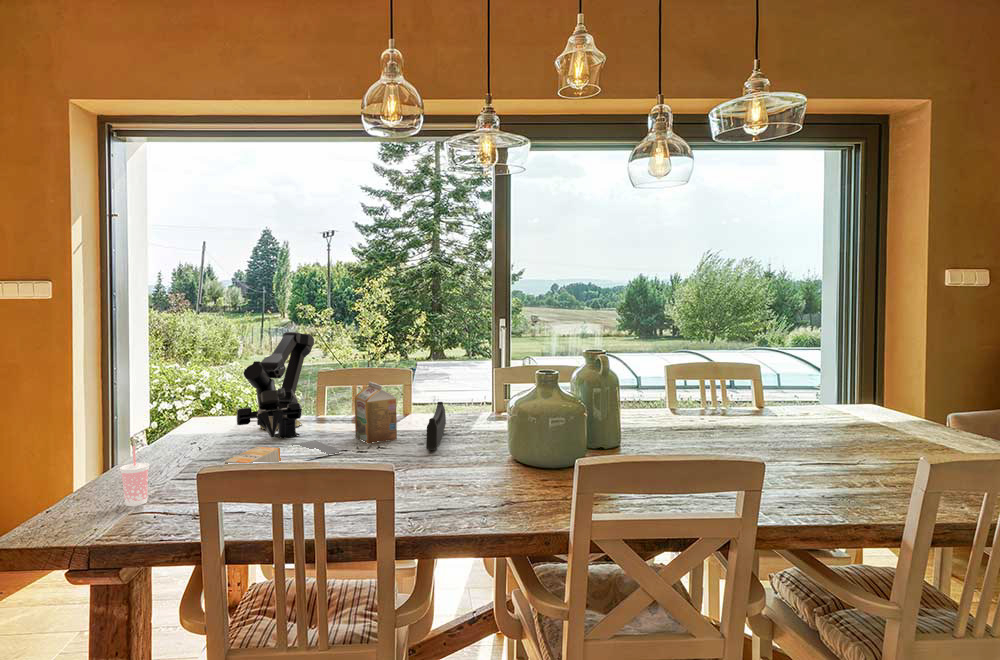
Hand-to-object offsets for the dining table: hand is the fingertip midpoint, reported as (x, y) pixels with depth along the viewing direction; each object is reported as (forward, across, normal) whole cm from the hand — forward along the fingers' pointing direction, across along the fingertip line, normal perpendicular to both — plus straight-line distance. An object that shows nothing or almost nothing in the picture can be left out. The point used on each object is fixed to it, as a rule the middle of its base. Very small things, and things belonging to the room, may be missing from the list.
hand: (272, 436), depth 185 cm
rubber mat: (+5, +5, +4) cm, 8 cm away
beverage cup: (+22, -35, -14) cm, 44 cm away
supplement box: (+8, -2, -4) cm, 9 cm away
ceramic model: (-23, +8, +34) cm, 42 cm away
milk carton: (0, +34, +10) cm, 36 cm away
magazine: (+9, +52, +1) cm, 52 cm away
